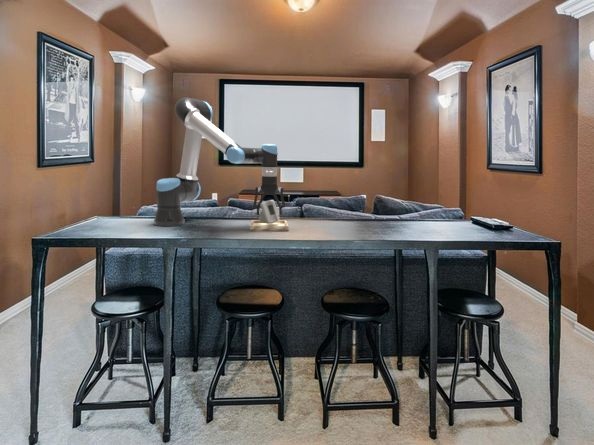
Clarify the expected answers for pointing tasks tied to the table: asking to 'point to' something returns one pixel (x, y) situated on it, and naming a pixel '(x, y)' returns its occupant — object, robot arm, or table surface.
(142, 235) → the table surface
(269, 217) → the digital clock
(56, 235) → the table surface
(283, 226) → the birch tray
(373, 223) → the table surface
